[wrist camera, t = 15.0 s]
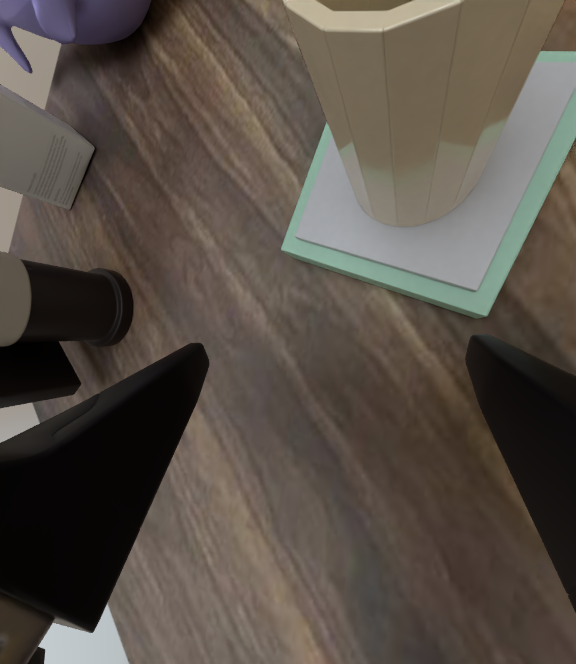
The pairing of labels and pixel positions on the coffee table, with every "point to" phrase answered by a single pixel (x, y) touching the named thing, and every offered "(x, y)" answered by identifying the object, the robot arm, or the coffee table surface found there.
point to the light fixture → (53, 324)
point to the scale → (459, 224)
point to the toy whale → (69, 22)
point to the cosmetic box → (40, 152)
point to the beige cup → (418, 91)
